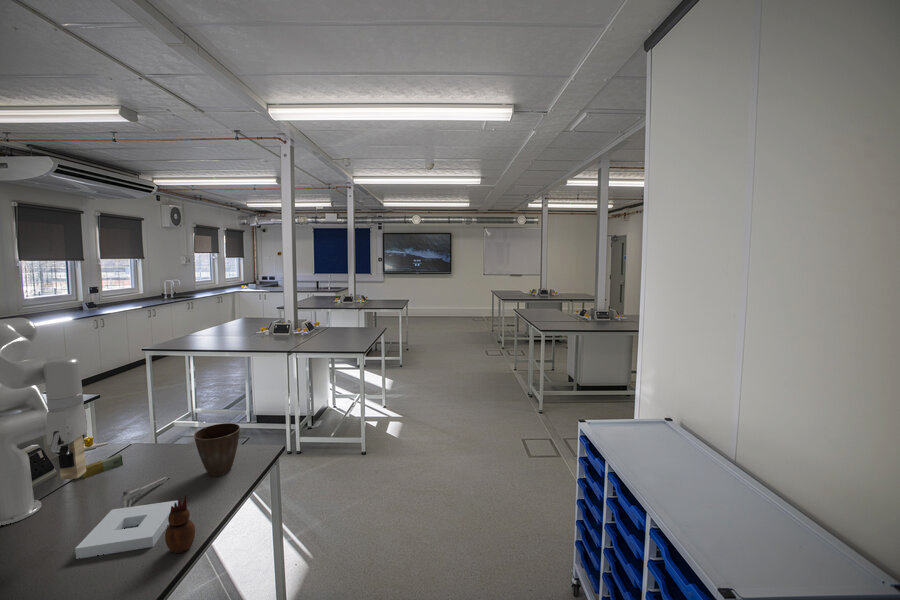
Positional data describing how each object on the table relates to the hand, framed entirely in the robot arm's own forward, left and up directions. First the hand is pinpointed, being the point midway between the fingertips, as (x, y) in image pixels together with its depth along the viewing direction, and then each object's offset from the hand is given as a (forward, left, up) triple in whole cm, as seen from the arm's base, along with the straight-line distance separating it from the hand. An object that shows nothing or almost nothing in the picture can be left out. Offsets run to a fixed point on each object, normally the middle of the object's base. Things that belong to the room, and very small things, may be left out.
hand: (72, 462), depth 119 cm
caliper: (+10, +19, -22) cm, 30 cm away
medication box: (-15, +42, -22) cm, 50 cm away
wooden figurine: (+32, -16, -22) cm, 42 cm away
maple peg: (0, 0, -4) cm, 4 cm away
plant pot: (+30, +28, -22) cm, 47 cm away
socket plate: (+15, -4, -21) cm, 26 cm away
